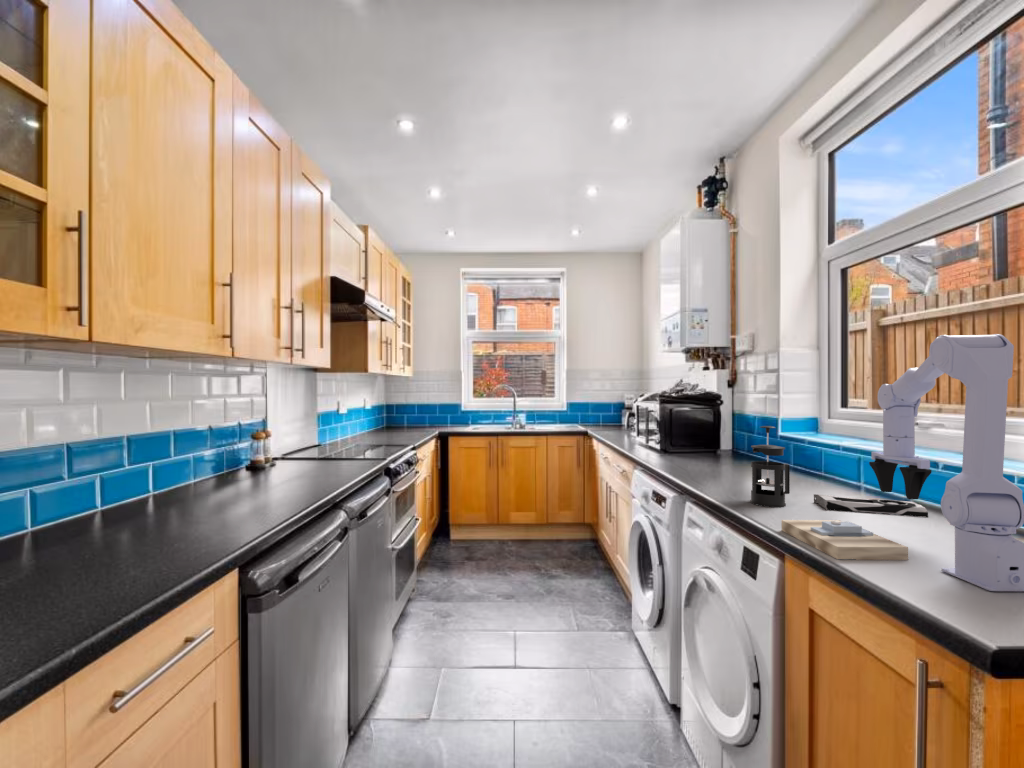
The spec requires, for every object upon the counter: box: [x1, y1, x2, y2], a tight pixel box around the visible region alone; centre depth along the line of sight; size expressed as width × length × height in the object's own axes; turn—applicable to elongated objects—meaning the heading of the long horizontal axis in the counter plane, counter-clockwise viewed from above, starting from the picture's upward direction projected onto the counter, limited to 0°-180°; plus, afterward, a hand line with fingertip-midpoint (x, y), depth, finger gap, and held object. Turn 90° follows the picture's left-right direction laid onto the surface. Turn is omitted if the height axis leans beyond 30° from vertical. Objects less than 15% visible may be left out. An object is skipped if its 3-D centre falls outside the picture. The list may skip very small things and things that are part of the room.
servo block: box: [811, 520, 874, 537], centre depth 106 cm, size 4×11×5 cm, turn 90°
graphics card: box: [813, 494, 929, 518], centre depth 137 cm, size 10×3×25 cm
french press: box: [749, 425, 791, 508], centre depth 144 cm, size 12×9×23 cm
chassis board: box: [781, 519, 909, 561], centre depth 106 cm, size 20×14×2 cm
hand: (898, 495), depth 112 cm, fingers open, 7 cm apart
